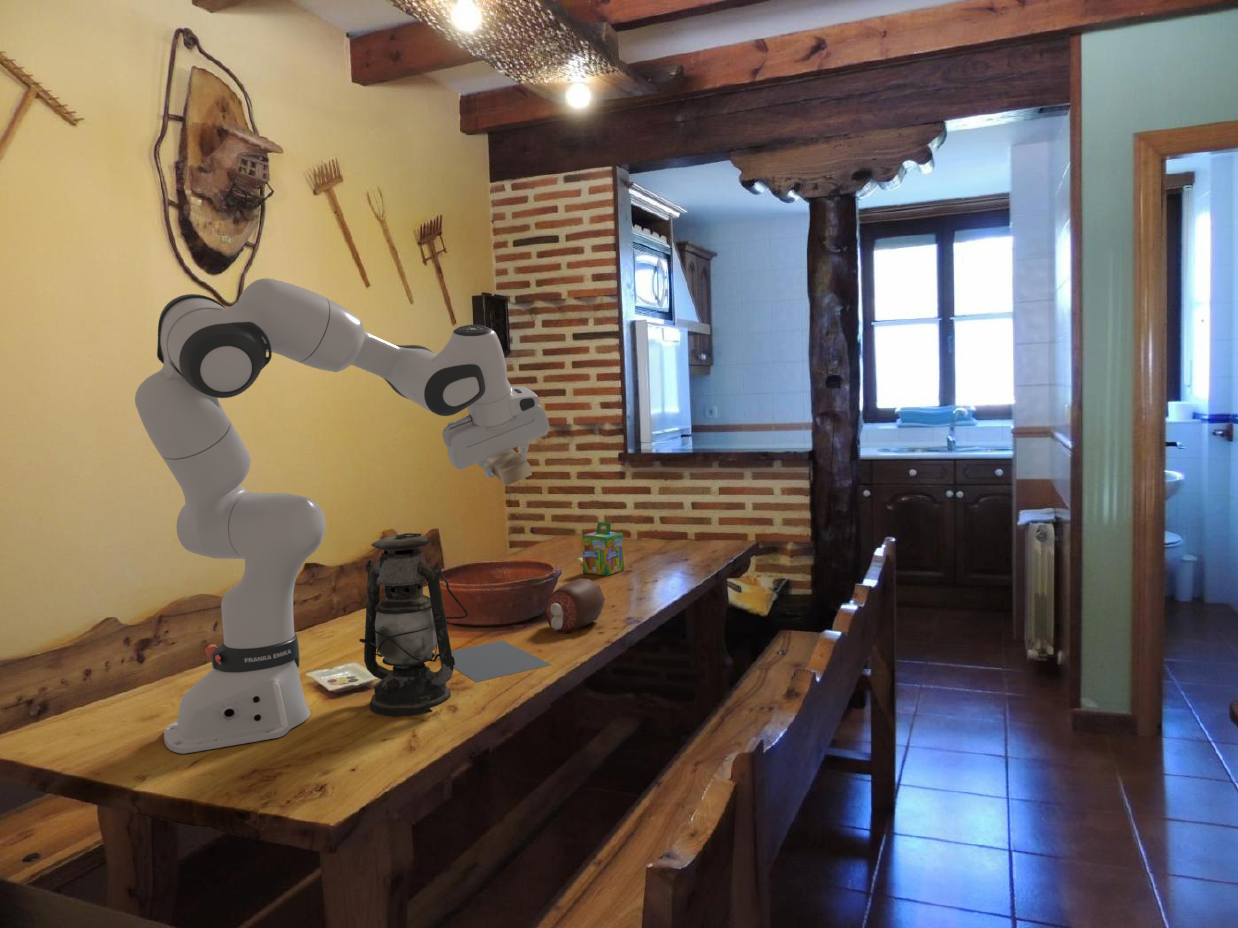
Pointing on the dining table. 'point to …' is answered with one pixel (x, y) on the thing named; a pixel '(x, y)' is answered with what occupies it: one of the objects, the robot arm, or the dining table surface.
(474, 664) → the mat
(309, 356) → the robot arm
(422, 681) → the lantern
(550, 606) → the meat
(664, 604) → the dining table surface
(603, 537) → the chalk box
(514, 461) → the wooden block
